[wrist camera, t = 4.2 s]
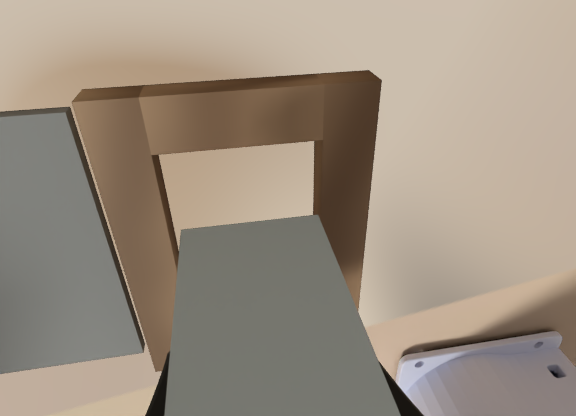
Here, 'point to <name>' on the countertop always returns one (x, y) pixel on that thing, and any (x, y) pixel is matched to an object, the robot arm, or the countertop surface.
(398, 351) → the countertop surface
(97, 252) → the rubber mat
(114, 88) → the walnut frame
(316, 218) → the painted block
